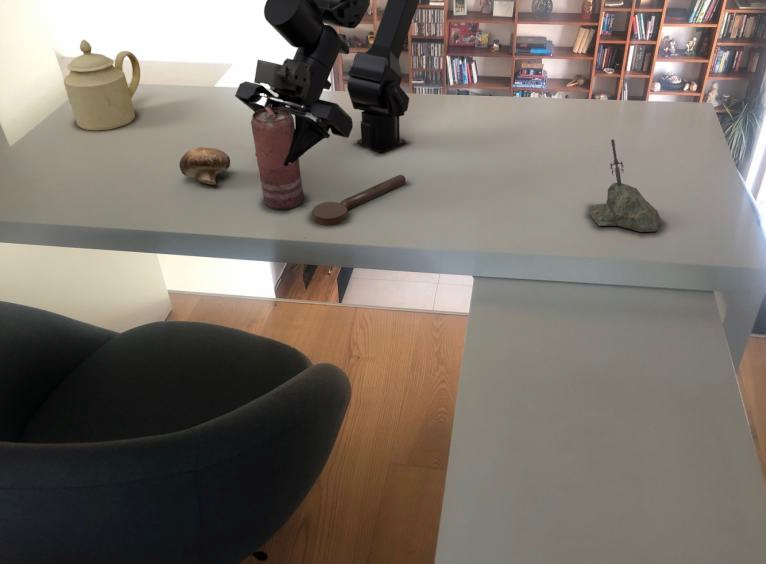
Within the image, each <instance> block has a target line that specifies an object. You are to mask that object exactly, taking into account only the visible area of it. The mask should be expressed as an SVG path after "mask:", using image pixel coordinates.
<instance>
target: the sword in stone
mask: <svg viewBox="0 0 766 564" xmlns="http://www.w3.org/2000/svg"><path fill="white" fill-rule="evenodd" d="M610 142H611V147H612V155H613V162H612V161H611V162H610V165H609V166H610V170H611V174H612V176H613V177H614V172H615V177H616V182H613V183H612V184H611V185H610V186H609V187H608V188H607V197H606V198H607V199H606V203H600V204H596V205H594V206H592V208H591V211H590V217H591V218H592V219H593V221H594V222H595V223H596V224H597V225H598V226H599V227H605V226H611V227H612V226H617V227H620V228H625V229H627V230H631V231H632V230H633V231H636V232H640V233H644V232H645V233H646V232H647V233H648V232H657V231H658V229H659V227H660V226H661V223H662V220H661V217H660V215H659V211H658V210H657V209H656V208H655V207H654V206H653V205H652V204H651V203H649V202H648V200H646V199H645V197H644V196H643V195H642V192H640V191H639V189H638V188H637V187H634V186H631V185H628V184H625V183H624V182H623V183H622V178H621V171H622V172H624V169H623V168H624V164H623V163H624V162H623V161H622V160H621V159H620V161H619V159H618V158H617V151H616V143H615V142H616V141H615V139H614V138H612V139H611V140H610ZM614 165H615V169H613V166H614ZM619 165H620V166H621V170H620V167H619Z"/></svg>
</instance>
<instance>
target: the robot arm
mask: <svg viewBox="0 0 766 564" xmlns="http://www.w3.org/2000/svg"><path fill="white" fill-rule="evenodd" d="M419 3H420V0H387V1H386V5H385V7H384V9H383V12H382V15H381V19H380V22H379V24H378V27H377V30H376V33H375V36H374V37H373V41H372V45H371V46H370V48H369V49H368V50H367V51H365V52H362V51H357V52H356V53H355V55H354V57H353V60H352V65H351V68H350V70H349V72H348V73H347V76H349V77H348V79H347V83H346V88H347V93H348V95H349V99H350V101H351V105H352V108H353V109H354V110H359V111H361V121H360V138H359V139H358V140H356V144H357V145H360V146H362V147H364V148H366V149H369V150H371V151H374V152H375V153H379V154H383V153H387V152H388V151H390V150H393V149H395V148H398V147H399V146H403V145H405V144H406V143H407V140H406V139H404V138H402V137H401V134H400V117H403V116H405V113H406V112H407V111H408V109H409V103H410V97H409V95H407V93H406V92H405V90H404V89H403V88H402V87H401V84H402V79H403V76H402V70H401V65H400V57H401V54H402V51H403V49H404V46H405V42H406V40H407V37H408V34H409V32H410V29H411V25H412V23H413V20H414V17H415V14H416V12H417V9H418V5H419ZM370 5H371V0H266V2H265V4H264V7H263V16H264V18H265V21H266V22H267V23H268V24H269V25H270V26H271V27H272V28H273V29H274V30H275V31H276V32H277V33H278V34H279V35H280V36H281V37H282V38H283V39H284V40H285V41H286V43H288V44H289V45H290V46H291V47H293V48H296V51H295V52H294V55H293V58H288V57H287V58H286V59H285V60H284V61H283V63H282V64H280V63H276V62H272V61H267V60H263V59H257V62H256V68H255V75H254V81H253V82H252V81H251V82H250V81H247V80H246V81H244V82H240V83H239V85H238V88H237V89H236V92H235V95H234V97H235V98H236V99H238V100H239V101H240V102H242V103H243V104H244V105H245V106H247V107H248V108H249V109H250V110H252V111H253V113H255V112H256V111H258V110H261V109H264V108H266V107H269V108H271V107H280V108H285V109H288V110H289V111H290V113H291V115H292V116H294V126H295V131H294V133H293V138H292V143H291V147H290V150H289V153H288V155H287V157H286V159H285V162H284V166H287V165H288V164H289V163H294V162H295V161H296V160H297V159H298V158H299V159H300V158H301V157H302V156H303V155H304V154H305V153H307V152H308V151H309V150H310V149H312V148H313V147H315V146H316V145H317V144H319V143H320V142H321V141H323V139H330V137H331V134H333V135H334V136H339V137H342V138H346V139H348V138H349V137H350V134H351V132H352V130H353V128H354V123H353V117H351V116H350V115H349V114H348V113H347V111H345V109H343V108H342V107H341V106H340V105H339V104H338V103H336V102H332V101H328V100H324V99H320V98H321V97H322V94H323V92H324V90H327V91H330V89H331V86H332V84H333V83H332V82H331V81H330V80H329V77H330V75H331V73H332V70H333V67H334V65H335V63H336V60H337V58H338V56H339V54H343V55H349V54H350V46H349V44H348V42H347V35H346V34H344V33H340V32H339V33H338V31H337V30H336V29H335V28H334V27H333V26H335V27H338V28H339V27H341V28H345V29H355V28H357V27H358V26H359V25H360V24H361V22H362V20H363V18H364V16H365V15H366V13H367V11H368V9H369V7H370ZM262 84H264V85H268V86H269V89H267V88H266V87H265V86H264V85H262ZM271 91H272V92H273V93H275V94H277V96H275V95H274V94H273V93H272V92H271ZM329 131H330V132H331V134H330V133H329ZM255 157H256V158H257V156H256V155H255Z"/></svg>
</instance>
